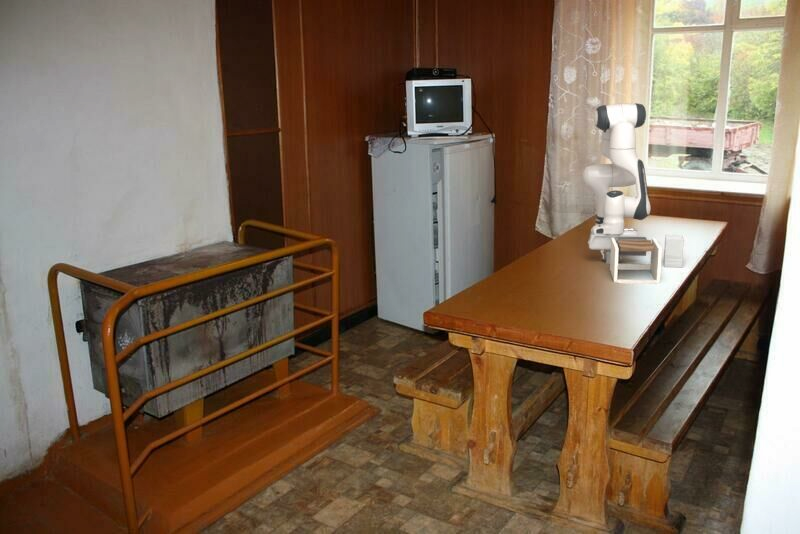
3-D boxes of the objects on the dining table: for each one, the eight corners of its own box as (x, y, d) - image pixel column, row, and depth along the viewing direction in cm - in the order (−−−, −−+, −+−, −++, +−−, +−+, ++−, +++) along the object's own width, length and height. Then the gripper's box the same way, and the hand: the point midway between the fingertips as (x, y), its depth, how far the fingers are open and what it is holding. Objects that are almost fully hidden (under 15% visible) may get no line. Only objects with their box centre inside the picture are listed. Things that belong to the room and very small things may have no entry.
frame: (609, 268, 300) (610, 237, 296) (652, 269, 296) (654, 237, 292) (614, 283, 281) (615, 249, 277) (660, 283, 277) (662, 249, 273)
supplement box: (681, 263, 303) (683, 235, 300) (682, 268, 296) (684, 239, 293) (663, 262, 305) (665, 234, 302) (663, 267, 299) (665, 238, 295)
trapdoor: (613, 252, 300) (614, 236, 298) (648, 252, 297) (649, 236, 295) (618, 265, 281) (619, 248, 279) (655, 265, 279) (656, 248, 277)
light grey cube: (605, 260, 311) (605, 250, 310) (617, 260, 310) (617, 250, 309) (606, 263, 307) (606, 253, 305) (618, 264, 306) (618, 253, 304)
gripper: (637, 226, 305) (635, 257, 309) (589, 226, 309) (588, 256, 313) (639, 230, 299) (637, 261, 303) (589, 230, 303) (588, 260, 307)
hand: (611, 258), depth 308 cm, fingers closed on light grey cube, 5 cm apart
